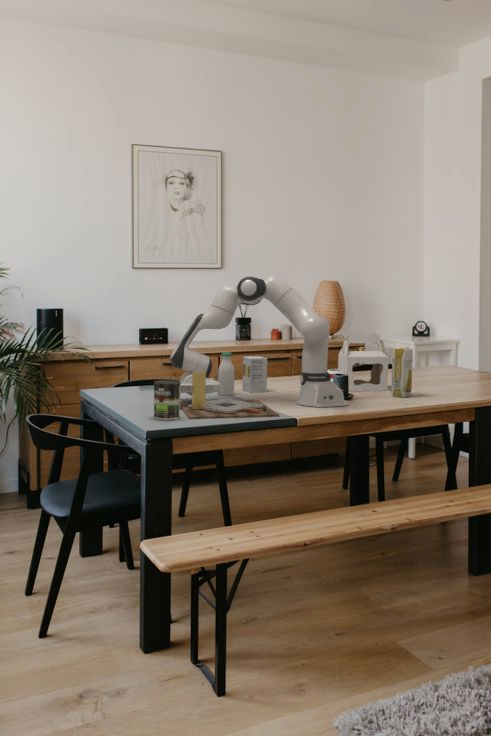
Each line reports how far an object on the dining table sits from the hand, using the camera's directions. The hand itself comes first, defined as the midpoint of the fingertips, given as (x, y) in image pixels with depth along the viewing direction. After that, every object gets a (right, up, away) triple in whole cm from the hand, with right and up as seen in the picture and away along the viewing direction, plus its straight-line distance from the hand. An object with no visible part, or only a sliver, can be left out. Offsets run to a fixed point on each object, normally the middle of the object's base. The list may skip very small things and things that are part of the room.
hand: (198, 390), depth 283 cm
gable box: (+78, -2, +68) cm, 104 cm away
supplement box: (+24, -2, +56) cm, 61 cm away
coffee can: (-11, -10, -15) cm, 21 cm away
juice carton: (+94, -5, +47) cm, 105 cm away
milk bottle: (+10, -4, +44) cm, 45 cm away
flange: (+13, -8, +1) cm, 15 cm away
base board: (+11, -8, +4) cm, 14 cm away
